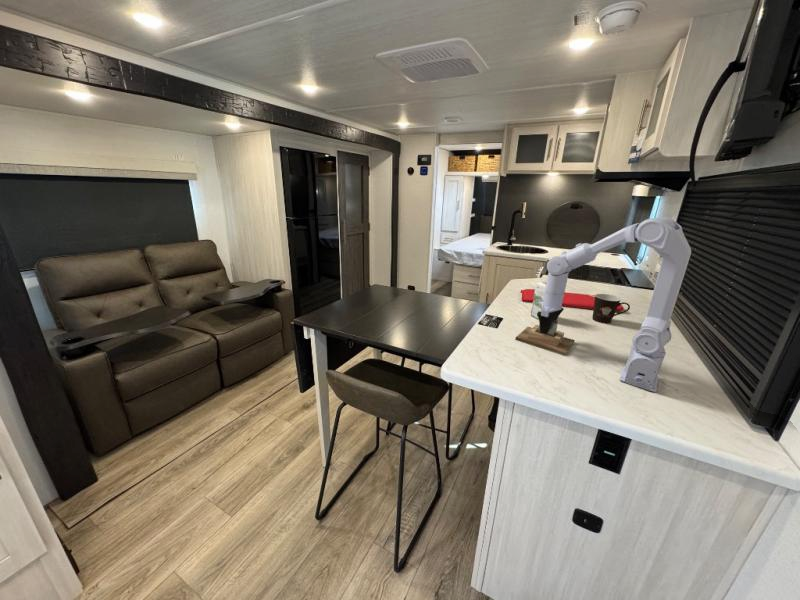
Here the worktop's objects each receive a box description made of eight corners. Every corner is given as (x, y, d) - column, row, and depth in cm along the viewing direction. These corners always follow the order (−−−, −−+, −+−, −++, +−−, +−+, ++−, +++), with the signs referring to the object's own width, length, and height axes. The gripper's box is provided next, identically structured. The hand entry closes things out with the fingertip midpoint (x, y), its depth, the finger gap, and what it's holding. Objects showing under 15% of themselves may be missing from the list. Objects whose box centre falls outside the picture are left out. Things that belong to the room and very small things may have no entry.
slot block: (564, 355, 97) (567, 346, 96) (515, 339, 107) (516, 330, 106) (574, 342, 106) (576, 333, 105) (527, 328, 116) (528, 320, 114)
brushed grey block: (551, 342, 103) (555, 323, 101) (536, 338, 106) (540, 319, 104) (554, 339, 106) (558, 321, 103) (539, 335, 109) (542, 317, 106)
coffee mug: (585, 319, 125) (591, 296, 122) (593, 314, 130) (599, 292, 127) (618, 329, 117) (625, 304, 113) (625, 323, 122) (632, 300, 118)
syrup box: (551, 319, 125) (558, 285, 120) (540, 321, 123) (546, 286, 118) (540, 313, 130) (546, 281, 125) (529, 315, 128) (535, 282, 123)
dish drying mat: (520, 292, 157) (521, 285, 156) (611, 302, 146) (613, 295, 144) (521, 303, 143) (522, 295, 142) (622, 315, 132) (625, 307, 130)
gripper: (548, 284, 108) (541, 320, 112) (534, 294, 97) (527, 333, 102) (570, 289, 103) (562, 325, 108) (558, 300, 93) (549, 339, 98)
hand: (546, 329), depth 105 cm, fingers open, 6 cm apart
